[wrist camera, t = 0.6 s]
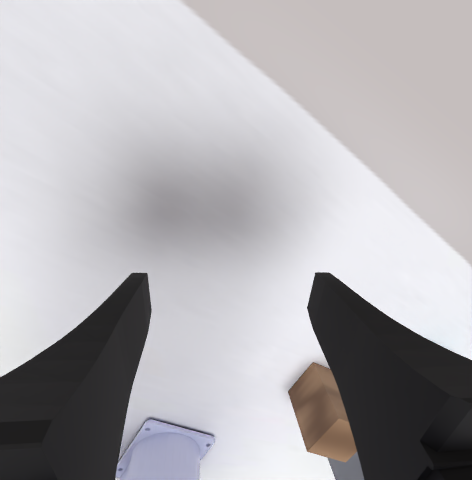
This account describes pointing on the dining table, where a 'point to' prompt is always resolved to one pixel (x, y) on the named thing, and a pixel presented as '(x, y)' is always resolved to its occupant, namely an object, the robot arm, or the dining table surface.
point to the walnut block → (322, 414)
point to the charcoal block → (347, 468)
